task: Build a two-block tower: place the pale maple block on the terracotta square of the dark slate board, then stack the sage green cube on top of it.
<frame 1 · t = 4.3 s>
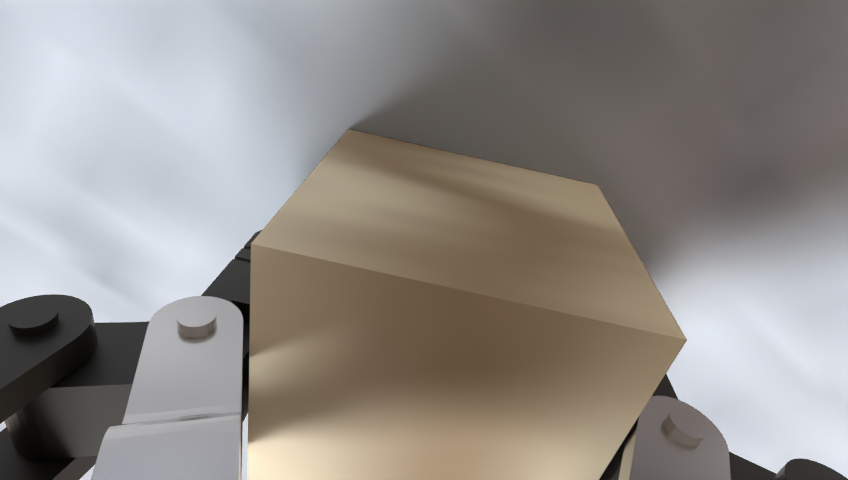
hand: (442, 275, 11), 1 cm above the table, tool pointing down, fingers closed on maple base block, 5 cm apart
maple base block: (445, 262, 12), on the table, touching gripper
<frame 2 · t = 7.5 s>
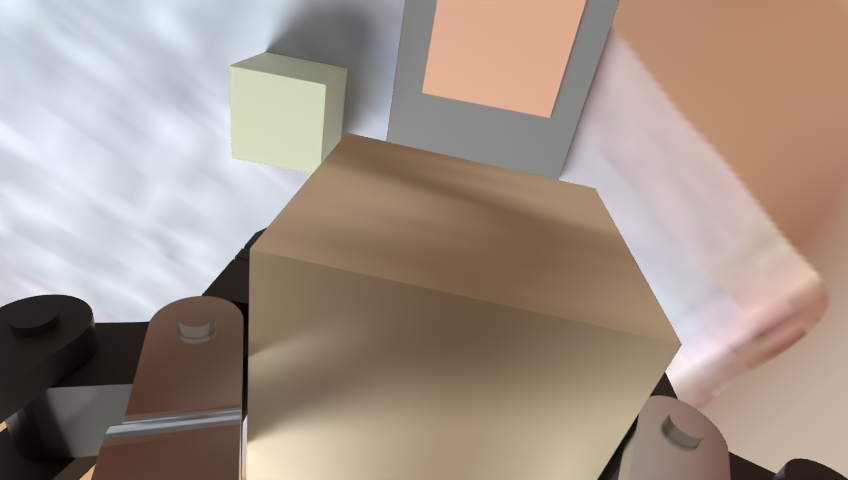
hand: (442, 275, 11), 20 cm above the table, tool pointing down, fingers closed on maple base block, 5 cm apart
sage top cube: (305, 101, 30), on the table
slate board: (501, 33, 27), on the table
maple base block: (444, 265, 12), point 19 cm above the table, touching gripper
when the fingers open (3 cm above the table, at t = 11.0 s): maple base block drops 1 cm, resting on slate board.
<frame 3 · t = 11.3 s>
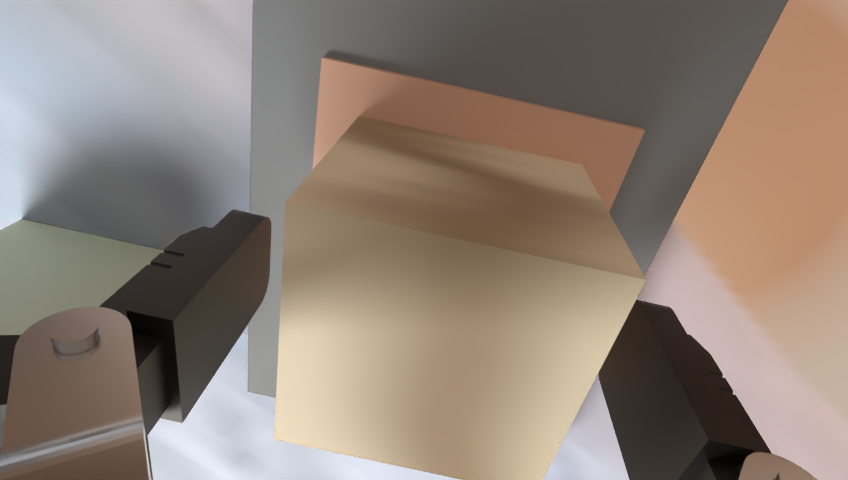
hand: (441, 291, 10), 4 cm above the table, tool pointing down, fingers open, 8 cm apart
sage top cube: (109, 294, 17), on the table
slate board: (449, 216, 14), on the table
maple base block: (446, 237, 13), point 1 cm above the table, touching slate board
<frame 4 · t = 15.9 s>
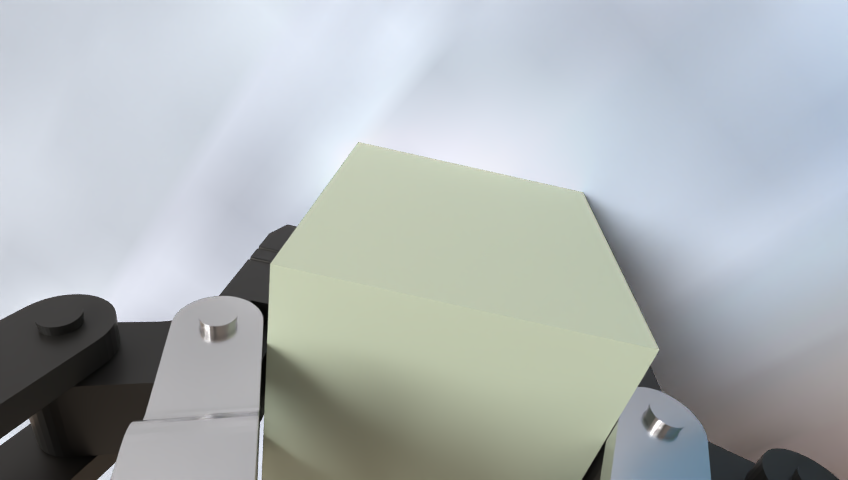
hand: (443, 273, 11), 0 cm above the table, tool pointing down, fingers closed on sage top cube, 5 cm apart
sage top cube: (446, 262, 12), on the table, touching gripper
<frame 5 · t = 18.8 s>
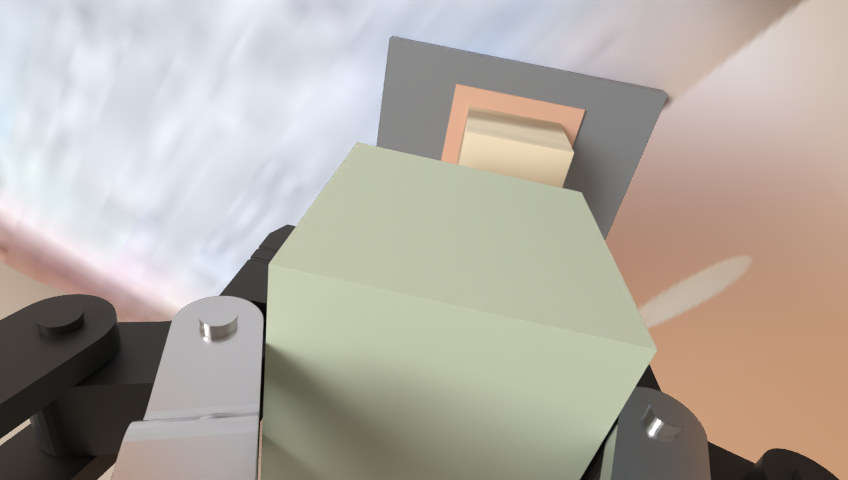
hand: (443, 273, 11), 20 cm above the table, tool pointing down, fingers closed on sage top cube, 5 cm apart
sage top cube: (444, 262, 12), point 20 cm above the table, touching gripper
slate board: (503, 151, 30), on the table
maple base block: (503, 157, 29), point 1 cm above the table, touching slate board
when the fingers open (8 cm above the table, at t = 21.8 s): sage top cube drops 1 cm, resting on maple base block.
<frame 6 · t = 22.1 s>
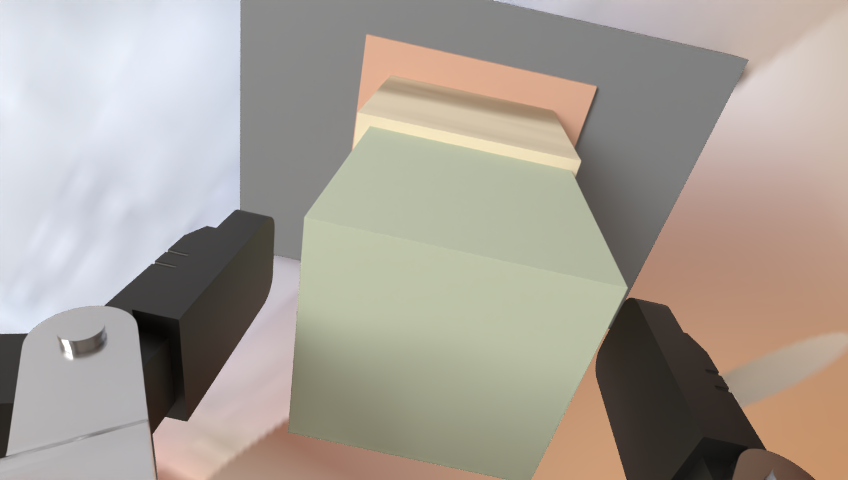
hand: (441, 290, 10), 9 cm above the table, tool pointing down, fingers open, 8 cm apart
sage top cube: (448, 236, 13), point 6 cm above the table, touching maple base block
slate board: (456, 158, 18), on the table
maple base block: (453, 169, 17), point 1 cm above the table, touching sage top cube, slate board
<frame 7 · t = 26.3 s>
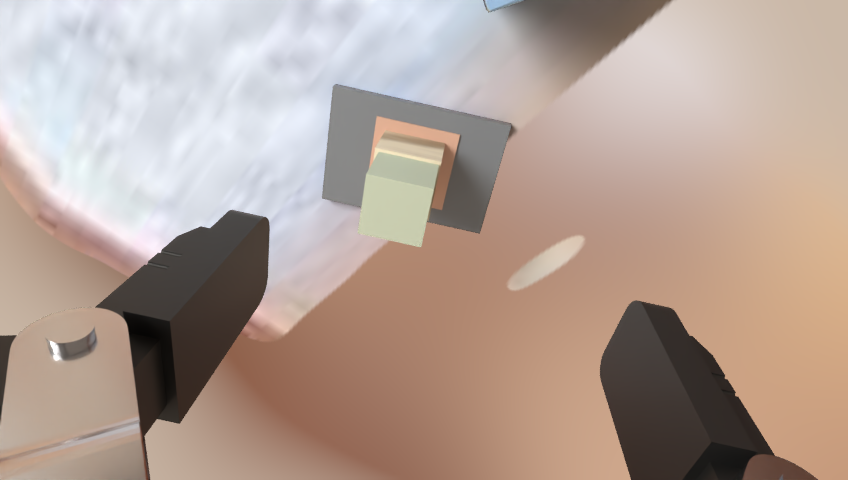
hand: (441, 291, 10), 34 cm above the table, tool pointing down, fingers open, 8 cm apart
sage top cube: (403, 186, 40), point 6 cm above the table, touching maple base block
slate board: (412, 160, 45), on the table
maple base block: (410, 165, 44), point 1 cm above the table, touching sage top cube, slate board
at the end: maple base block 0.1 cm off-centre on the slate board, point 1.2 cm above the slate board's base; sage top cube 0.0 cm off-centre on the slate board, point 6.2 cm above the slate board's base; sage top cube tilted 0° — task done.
